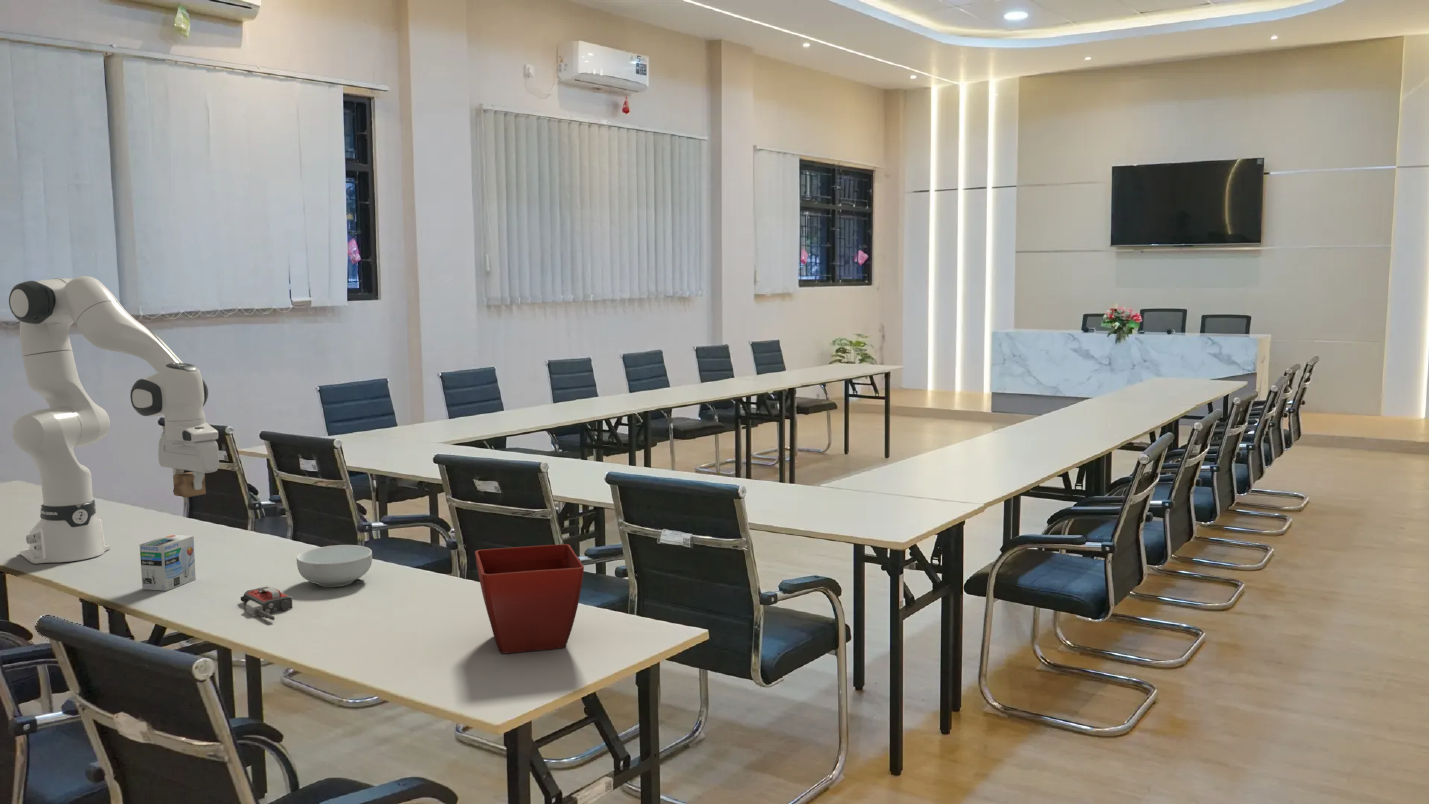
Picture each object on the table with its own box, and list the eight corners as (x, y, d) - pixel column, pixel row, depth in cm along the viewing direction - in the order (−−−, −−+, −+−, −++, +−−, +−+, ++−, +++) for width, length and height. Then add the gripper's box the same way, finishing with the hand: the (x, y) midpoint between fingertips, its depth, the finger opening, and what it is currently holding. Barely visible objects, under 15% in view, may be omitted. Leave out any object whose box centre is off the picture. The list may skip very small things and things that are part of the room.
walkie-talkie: (231, 606, 239) (268, 626, 225) (229, 586, 238) (267, 605, 224) (270, 597, 245) (309, 617, 231) (269, 578, 245) (308, 596, 230)
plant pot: (586, 652, 207) (585, 566, 205) (484, 662, 202) (482, 574, 200) (570, 622, 225) (569, 543, 224) (476, 631, 220) (474, 549, 218)
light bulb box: (166, 591, 249) (163, 545, 248) (140, 590, 250) (137, 544, 249) (197, 579, 259) (194, 535, 258) (172, 577, 261) (169, 533, 260)
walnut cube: (174, 495, 261) (173, 474, 260) (194, 491, 265) (192, 471, 264) (186, 497, 258) (184, 476, 257) (205, 493, 262) (204, 473, 261)
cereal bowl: (281, 587, 252) (280, 557, 252) (335, 570, 267) (333, 542, 266) (336, 596, 245) (335, 565, 244) (388, 578, 260) (387, 549, 259)
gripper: (149, 429, 263) (153, 485, 264) (197, 435, 251) (200, 494, 253) (174, 426, 268) (178, 481, 269) (222, 432, 257) (226, 489, 258)
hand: (189, 487), depth 261 cm, fingers closed on walnut cube, 5 cm apart
